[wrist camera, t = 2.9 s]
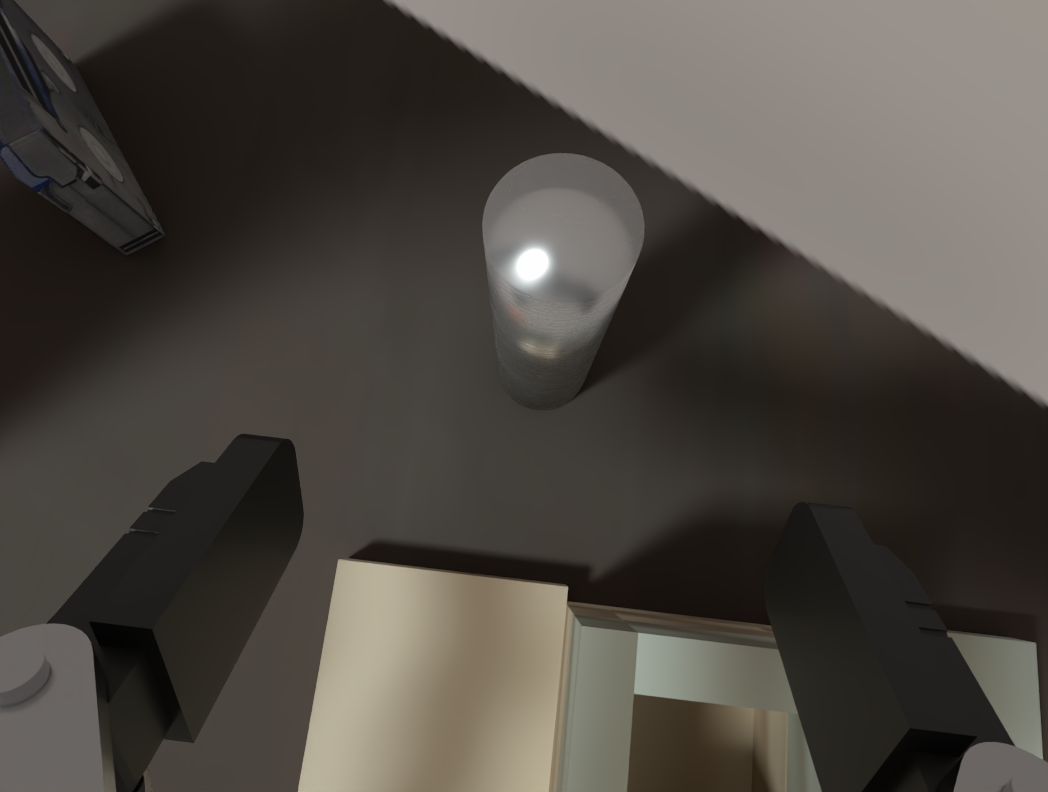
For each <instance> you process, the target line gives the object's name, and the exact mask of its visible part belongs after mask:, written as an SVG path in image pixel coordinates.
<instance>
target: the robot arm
mask: <svg viewBox="0 0 1048 792" xmlns="http://www.w3.org/2000/svg"><path fill="white" fill-rule="evenodd" d="M303 518H304V511H303V503H302V496H301V488H300V481H299V474H298V467H297V460H296V452H295V447H294V444H293V443H292V441H291V440H289V439H283V438H275V437H266V436H258V435H249V434H240V435H238V436H237V437H236V438H235V439H234V440H233V441H232V442H231V444H230V445H229V446H228V447H227V449H226V450H225V451H224V452H223V454H222V455H221V456H220V457H219V459H218V460H217V461H216V462H215V463H210V462H200V463H199V464H197V465H195V466H194V467H192V468H191V469H189V470H187V471H186V472H184V473H183V474H181V475H180V476H178V477H176V478H175V479H173V480H172V481H170V482H169V483H168V484H167V486H166V487H165V488H164V489H163V490H162V491H161V492H160V494H159V495H158V496H157V497H156V498H155V499H154V501H153V502H152V503H151V504H150V505H149V506H148V511H147V512H143V513H142V514H141V516H140V517H139V518H138V519H137V520H136V521H135V523H134V524H133V525H132V526H131V527H130V532H129V533H128V534H126V533H125V534H124V535H123V536H122V538H121V539H120V540H119V541H118V542H117V543H116V544H115V546H114V547H113V548H112V549H111V550H110V551H109V553H108V554H107V555H106V556H105V557H104V558H103V560H102V561H101V562H100V563H99V564H98V565H97V566H96V568H95V569H94V570H93V571H92V572H91V573H90V575H89V576H88V577H87V578H86V579H85V580H84V581H83V583H82V584H81V585H80V586H79V587H78V588H77V590H76V591H75V592H74V593H73V594H72V595H71V597H70V598H69V599H68V600H67V601H66V602H65V603H64V605H63V606H62V607H61V608H60V609H59V610H58V612H57V613H56V614H55V615H54V616H53V617H52V618H51V619H50V620H49V621H48V622H47V623H46V624H41V625H35V626H30V627H26V628H23V629H19V630H16V631H14V632H11V633H9V634H6V635H4V636H2V637H0V792H152V786H151V779H150V773H149V769H148V765H149V763H150V761H151V760H152V758H153V756H154V754H155V753H156V751H157V749H158V747H159V746H160V744H161V742H162V740H163V739H167V740H175V741H183V742H190V743H194V741H195V740H196V738H197V736H198V734H199V732H200V730H201V728H202V726H203V724H204V722H205V721H206V719H207V717H208V715H209V713H210V711H211V709H212V707H213V705H214V703H215V702H216V700H217V698H218V696H219V694H220V692H221V690H222V688H223V686H224V684H225V683H226V681H227V679H228V677H229V675H230V673H231V671H232V669H233V667H234V665H235V664H236V662H237V660H238V658H239V656H240V654H241V652H242V650H243V648H244V646H245V645H246V643H247V641H248V639H249V637H250V635H251V633H252V631H253V629H254V627H255V626H256V624H257V622H258V620H259V618H260V616H261V614H262V612H263V610H264V608H265V607H266V605H267V603H268V601H269V599H270V597H271V595H272V593H273V591H274V589H275V588H276V586H277V584H278V582H279V580H280V578H281V576H282V574H283V572H284V571H285V569H286V567H287V565H288V563H289V561H290V559H291V557H292V555H293V553H294V552H295V549H296V547H297V545H298V542H299V539H300V536H301V532H302V527H303ZM764 600H765V606H766V610H767V613H768V617H769V620H770V623H771V627H772V630H773V633H774V636H775V640H776V643H777V646H778V650H779V653H780V656H781V659H782V663H783V666H784V669H785V673H786V676H787V679H788V682H789V686H790V689H791V692H792V696H793V699H794V702H795V705H796V709H797V712H798V715H799V719H800V722H801V725H802V728H803V732H804V735H805V738H806V742H807V745H808V748H809V751H810V755H811V758H812V761H813V765H814V768H815V771H816V774H817V778H818V781H819V784H820V788H821V791H822V792H1048V763H1047V762H1046V761H1044V760H1043V759H1041V758H1039V757H1037V756H1035V755H1034V754H1032V753H1030V752H1028V751H1025V750H1023V749H1021V748H1018V747H1016V746H1015V744H1014V743H1013V741H1012V740H1011V738H1010V736H1009V734H1008V733H1007V731H1006V729H1005V728H1004V726H1003V724H1002V722H1001V721H1000V719H999V717H998V716H997V714H996V712H995V710H994V709H993V707H992V705H991V704H990V702H989V700H988V699H987V697H986V695H985V693H984V692H983V690H982V688H981V687H980V685H979V683H978V681H977V680H976V678H975V676H974V675H973V673H972V671H971V669H970V668H969V666H968V664H967V663H966V661H965V659H964V657H963V656H962V654H961V652H960V651H959V649H958V647H957V645H956V644H955V642H954V640H953V639H952V637H948V635H947V631H948V630H947V628H946V627H945V625H944V623H943V621H942V620H941V618H940V616H939V615H938V613H937V611H934V610H932V605H933V604H932V603H931V601H930V599H929V597H928V596H927V594H926V592H925V591H924V589H923V587H922V586H921V584H920V582H919V580H918V579H917V577H916V575H915V574H914V573H913V572H912V571H911V570H910V569H909V568H908V567H907V566H906V565H905V564H904V563H903V562H902V561H901V560H900V559H899V558H898V557H897V556H896V555H895V554H894V553H893V552H892V551H891V550H889V549H888V548H887V547H886V546H885V545H876V544H873V542H872V540H871V538H870V536H869V534H868V533H867V531H866V529H865V527H864V525H863V523H862V522H861V520H860V518H859V516H858V515H857V513H856V512H855V511H854V510H853V509H851V508H848V507H840V506H831V505H823V504H814V503H806V502H800V503H798V504H796V505H795V507H794V508H793V510H792V512H791V514H790V516H789V518H788V521H787V523H786V525H785V528H784V530H783V532H782V535H781V537H780V539H779V542H778V544H777V546H776V549H775V551H774V553H773V556H772V558H771V560H770V563H769V565H768V567H767V570H766V574H765V580H764Z"/></svg>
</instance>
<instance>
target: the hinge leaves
mask: <svg viewBox="0 0 1048 792" xmlns="http://www.w3.org/2000/svg"><path fill="white" fill-rule="evenodd" d="M567 595H568V586H567V585H566V584H559V583H550V582H542V581H534V580H525V579H517V578H509V577H500V576H492V575H483V574H475V573H467V572H458V571H450V570H442V569H433V568H425V567H417V566H408V565H400V564H392V563H383V562H375V561H366V560H358V559H350V558H345V559H338V565H337V571H336V576H335V582H334V588H333V594H332V599H331V605H330V611H329V617H328V622H327V628H326V634H325V639H324V645H323V651H322V657H321V662H320V668H319V674H318V679H317V685H316V691H315V697H314V702H313V708H312V714H311V719H310V725H309V731H308V737H307V742H306V748H305V754H304V759H303V765H302V771H301V777H300V782H299V788H298V792H822V791H821V788H820V784H819V781H818V778H817V774H816V771H815V768H814V765H813V761H812V758H811V755H810V751H809V748H808V745H807V742H806V738H805V735H804V732H803V728H802V725H801V722H800V719H799V715H798V712H797V709H796V705H795V702H794V699H793V696H792V692H791V689H790V686H789V682H788V679H787V676H786V673H785V669H784V666H783V663H782V659H781V656H780V653H779V650H778V646H777V643H776V640H775V636H774V633H773V630H772V627H771V626H770V625H762V624H753V623H745V622H737V621H728V620H720V619H712V618H703V617H695V616H687V615H678V614H670V613H662V612H654V611H645V610H637V609H629V608H620V607H612V606H604V605H595V604H587V603H579V602H570V601H567ZM947 635H948V637H952V639H953V640H954V642H955V644H956V645H957V647H958V649H959V651H960V652H961V654H962V656H963V657H964V659H965V661H966V663H967V664H968V666H969V668H970V669H971V671H972V673H973V675H974V676H975V678H976V680H977V681H978V683H979V685H980V687H981V688H982V690H983V692H984V693H985V695H986V697H987V699H988V700H989V702H990V704H991V705H992V707H993V709H994V710H995V712H996V714H997V716H998V717H999V719H1000V721H1001V722H1002V724H1003V726H1004V728H1005V729H1006V731H1007V733H1008V734H1009V736H1010V738H1011V740H1012V741H1013V743H1014V744H1015V746H1016V747H1018V748H1021V749H1023V750H1025V751H1028V752H1030V753H1032V754H1034V755H1035V756H1037V757H1039V758H1041V759H1043V751H1042V734H1041V718H1040V701H1039V684H1038V668H1037V651H1036V643H1034V642H1029V641H1024V640H1019V639H1015V638H1010V637H1002V636H993V635H985V634H976V633H968V632H960V631H951V630H948V631H947Z"/></svg>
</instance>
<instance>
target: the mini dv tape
mask: <svg viewBox="0 0 1048 792" xmlns="http://www.w3.org/2000/svg"><path fill="white" fill-rule="evenodd" d="M0 157H1V159H2V160H3V162H4V163H5V164H6V166H7V167H8V168H9V170H10V171H11V172H12V174H13V175H14V176H15V177H16V178H17V179H19V180H20V181H22V182H23V183H24V184H26V185H27V186H29V187H30V188H31V189H33V190H34V191H36V192H37V193H38V194H40V195H41V196H42V197H44V198H45V199H47V200H48V201H49V202H51V203H52V204H54V205H55V206H56V207H58V208H59V209H61V210H62V211H63V212H65V213H66V214H68V215H69V216H70V217H72V218H73V219H75V220H76V221H77V222H79V223H80V224H82V225H83V226H84V227H86V228H87V229H89V230H90V231H91V232H93V233H94V234H96V235H97V236H98V237H100V238H101V239H103V240H104V241H105V242H107V243H108V244H110V245H111V246H112V247H114V248H115V249H117V250H118V251H119V252H121V253H122V254H124V255H125V256H127V255H129V254H131V253H133V252H135V251H137V250H139V249H141V248H143V247H145V246H147V245H149V244H151V243H153V242H155V241H157V240H158V239H160V238H162V237H164V236H166V235H165V233H164V232H163V230H162V228H161V226H160V224H159V222H158V220H157V218H156V216H155V214H154V213H153V211H152V209H151V207H150V205H149V203H148V201H147V199H146V197H145V196H144V194H143V192H142V190H141V188H140V186H139V184H138V182H137V180H136V179H135V177H134V175H133V173H132V171H131V169H130V167H129V165H128V163H127V161H126V160H125V158H124V156H123V154H122V152H121V150H120V148H119V146H118V144H117V143H116V141H115V139H114V137H113V135H112V133H111V131H110V129H109V127H108V125H107V124H106V122H105V120H104V118H103V116H102V114H101V112H100V110H99V108H98V107H97V105H96V103H95V101H94V99H93V97H92V95H91V93H90V91H89V90H88V88H87V86H86V84H85V82H84V80H83V78H82V76H81V74H80V72H79V71H78V69H77V67H76V66H75V65H74V64H73V62H72V61H71V60H70V59H69V58H68V57H67V56H66V55H65V54H64V53H63V52H62V51H61V50H60V49H59V48H58V47H57V46H56V44H55V43H54V42H53V41H52V40H51V39H50V38H49V37H48V36H47V35H46V34H45V33H44V32H43V31H42V30H41V29H40V28H39V26H38V25H37V24H36V23H35V22H34V21H33V20H32V19H31V18H30V17H29V16H28V15H27V14H26V13H25V12H24V11H23V10H22V8H21V7H20V6H19V5H18V4H17V3H16V2H15V1H14V0H0Z"/></svg>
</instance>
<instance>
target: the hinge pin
mask: <svg viewBox="0 0 1048 792" xmlns="http://www.w3.org/2000/svg"><path fill="white" fill-rule="evenodd" d="M482 230H483V240H484V249H485V257H486V266H487V274H488V283H489V291H490V300H491V308H492V317H493V325H494V333H495V342H496V350H497V359H498V367H499V375H500V379H501V382H502V384H503V386H504V388H505V390H506V391H507V393H508V394H509V395H510V396H511V397H512V398H513V399H514V400H515V401H516V402H518V403H519V404H521V405H523V406H525V407H528V408H531V409H536V410H551V409H555V408H558V407H561V406H563V405H565V404H567V403H568V402H569V401H571V400H572V399H573V398H574V397H575V396H576V395H577V394H578V393H579V391H580V389H581V388H582V386H583V384H584V381H585V379H586V377H587V374H588V372H589V370H590V367H591V365H592V363H593V361H594V358H595V356H596V354H597V351H598V349H599V347H600V344H601V342H602V340H603V337H604V335H605V333H606V331H607V328H608V326H609V324H610V321H611V319H612V317H613V314H614V312H615V310H616V307H617V305H618V303H619V301H620V298H621V296H622V294H623V291H624V289H625V287H626V284H627V282H628V280H629V278H630V275H631V273H632V271H633V268H634V266H635V264H636V261H637V259H638V257H639V254H640V252H641V248H642V245H643V240H644V218H643V213H642V209H641V206H640V203H639V201H638V199H637V196H636V195H635V193H634V192H633V190H632V188H631V187H630V186H629V184H628V183H627V182H626V181H625V180H624V179H623V178H622V177H621V176H620V175H619V174H618V173H617V172H615V171H614V170H613V169H611V168H610V167H608V166H607V165H605V164H603V163H602V162H599V161H597V160H595V159H592V158H589V157H586V156H582V155H577V154H570V153H555V154H547V155H542V156H538V157H535V158H532V159H529V160H527V161H525V162H523V163H521V164H519V165H518V166H516V167H514V168H513V169H512V170H510V171H509V172H508V173H507V174H505V175H504V176H503V178H502V179H501V180H500V181H499V182H498V183H497V185H496V186H495V187H494V189H493V190H492V192H491V194H490V196H489V198H488V200H487V203H486V206H485V209H484V214H483V223H482Z"/></svg>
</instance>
